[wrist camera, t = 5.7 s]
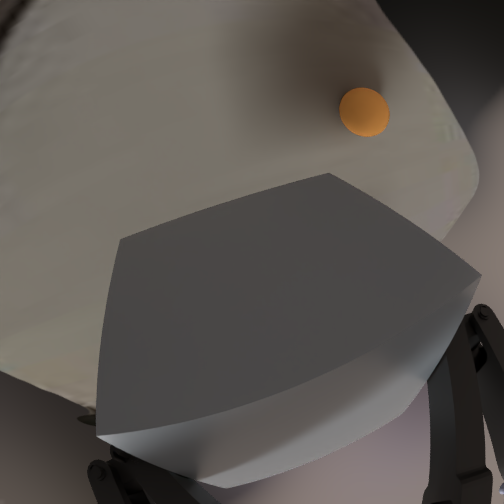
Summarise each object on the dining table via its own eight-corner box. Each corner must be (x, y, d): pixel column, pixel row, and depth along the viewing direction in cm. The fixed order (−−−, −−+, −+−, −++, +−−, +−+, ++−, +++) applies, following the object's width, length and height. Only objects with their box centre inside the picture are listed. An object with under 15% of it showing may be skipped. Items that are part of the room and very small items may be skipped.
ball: (325, 88, 22) (356, 90, 18) (364, 85, 23) (397, 88, 19) (333, 135, 25) (363, 145, 21) (369, 128, 26) (401, 137, 22)
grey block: (120, 239, 11) (95, 436, 4) (328, 172, 13) (481, 275, 5) (194, 365, 17) (225, 488, 10) (333, 313, 18) (402, 413, 11)
